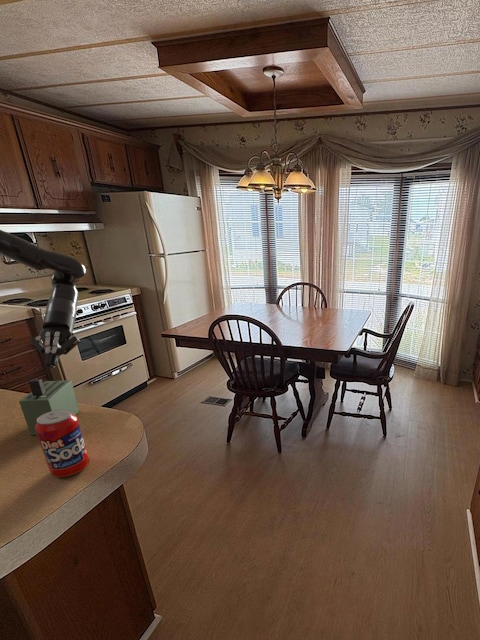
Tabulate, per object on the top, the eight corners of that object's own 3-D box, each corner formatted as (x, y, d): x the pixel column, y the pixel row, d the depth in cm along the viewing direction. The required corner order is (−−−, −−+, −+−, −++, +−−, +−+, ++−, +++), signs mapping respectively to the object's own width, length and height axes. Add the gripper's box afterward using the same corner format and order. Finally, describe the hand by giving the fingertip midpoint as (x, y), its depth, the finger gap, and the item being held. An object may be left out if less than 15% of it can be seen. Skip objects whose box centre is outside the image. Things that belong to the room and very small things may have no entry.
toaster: (55, 412, 107) (45, 380, 103) (79, 411, 109) (71, 379, 104) (30, 435, 96) (18, 400, 91) (59, 434, 97) (48, 399, 93)
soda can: (76, 455, 88) (61, 404, 83) (97, 464, 86) (83, 412, 80) (43, 474, 82) (24, 420, 76) (65, 483, 79) (46, 428, 73)
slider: (36, 393, 95) (31, 379, 94) (46, 393, 96) (41, 378, 94) (33, 396, 94) (28, 381, 92) (43, 395, 94) (38, 381, 93)
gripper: (28, 309, 102) (15, 362, 95) (78, 309, 104) (68, 360, 98) (43, 322, 108) (32, 372, 102) (89, 321, 111) (81, 370, 105)
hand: (50, 366), depth 100 cm, fingers closed
